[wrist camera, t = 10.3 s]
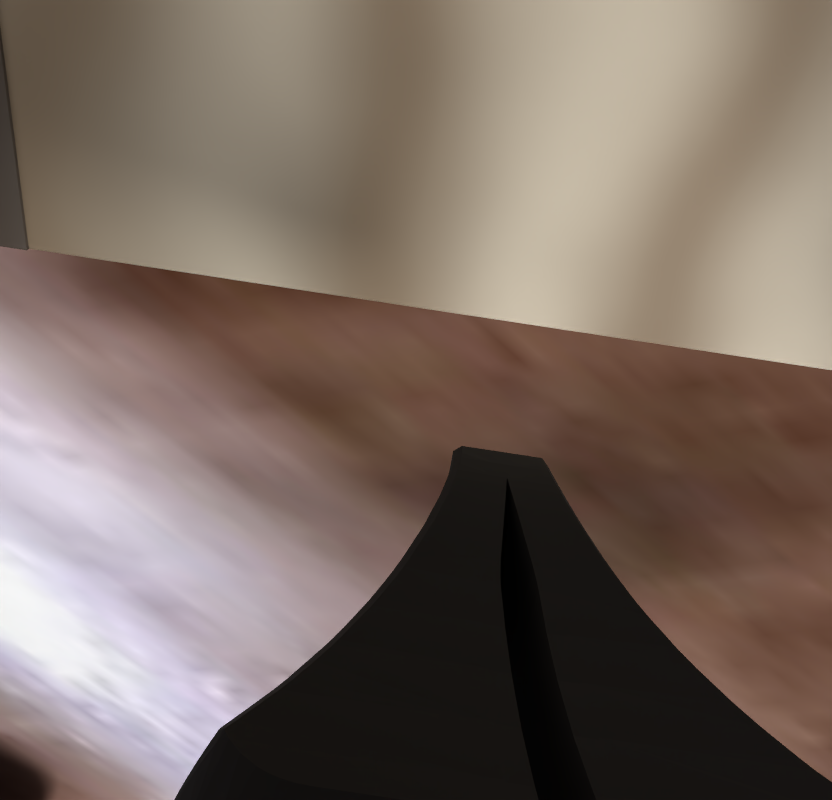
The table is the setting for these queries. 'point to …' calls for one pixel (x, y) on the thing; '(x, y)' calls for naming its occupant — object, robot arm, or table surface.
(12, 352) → the table surface
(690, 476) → the table surface
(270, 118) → the maple board
